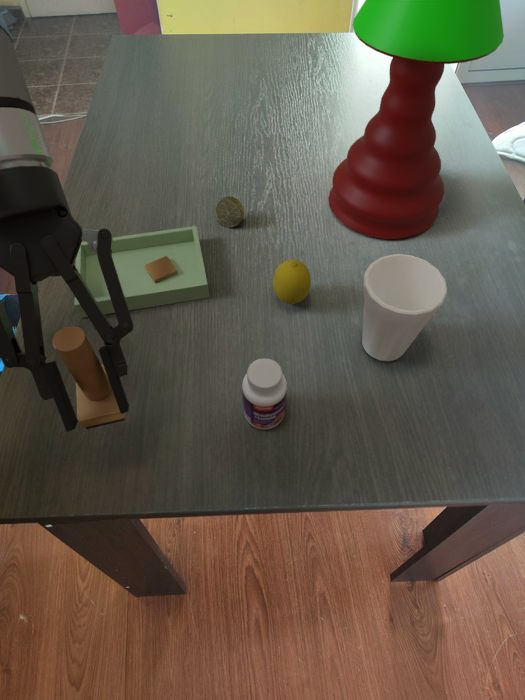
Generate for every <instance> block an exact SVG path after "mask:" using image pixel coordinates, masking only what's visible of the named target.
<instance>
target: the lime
mask: <svg viewBox="0 0 525 700" xmlns="http://www.w3.org/2000/svg"><path fill="white" fill-rule="evenodd" d="M244 208H245V207H244V206H243V203H242V202H241V201H240V200H239V199H238V198H236V197H234V196H224V197H222V198H220V200H219V201H218V202H217V204H216V206H215V215H216V219H218V222H220V224H221V225H222V226H223V227H227V228H234V227H236V226H239V225H240V224H241V223H242V220H243V219H244V216H245V209H244Z"/></svg>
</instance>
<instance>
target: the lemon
mask: <svg viewBox="0 0 525 700" xmlns="http://www.w3.org/2000/svg"><path fill="white" fill-rule="evenodd" d="M272 285H273V291H274V293H275V295H276V297H277V298H278V299H279V300H280V301H281V302H283V303H286V304H290V305H294V304H298V303H300V302H302V301H303V300H305V299H306V297H307V296H308V295H309V292H310V290H311V285H312V279H311V272H310V270H309V268H308V267H307V266H306V264H305V263H303V262H302V261H300V260H298V259H288V260H284V261H283V262H281V263H280V264H279V265H278V266H277V268H276V270H275V272H274V275H273V281H272Z"/></svg>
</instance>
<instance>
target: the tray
mask: <svg viewBox="0 0 525 700" xmlns="http://www.w3.org/2000/svg"><path fill="white" fill-rule="evenodd" d="M112 237H113V242H112V258H113V261H114V265H115V268H116V271H117V274H118V277H119V281H120V284H121V287H122V290H123V293H124V297H125V300H126V303H127V306H128V309H129V311H133V310H139V309H146V308H147V309H148V308H153V307H159V306H165V305H171V304H177V303H185V302H190V301H191V302H192V301H196V300H197V301H198V300H203V299H209V298H210V289H209V284H208V278H207V274H206V268H205V264H204V258H203V252H202V248H201V243H200V238H199V232H198V227H197V225H192V226H184V227H177V228H170V229H163V230H157V231H149V232H142V233H141V232H140V233H135V234H128V235H120V236H115V237H114V236H112ZM165 256H167V257H168V258H169V260H170V261H171V262H172V264H173V265H174V267H175V268H176V269H177V271H178V274H176V275H174V276H172V277H169V278H167V279H165V280H162V281H160V282H158V283H155V282H154V281H153V279H152V278H151V276H150V275H149V273H148V272H147V270H146V269H145V266H144V265H145V264H148V263H150V262H153V261H155V260H158V259H160V258H163V257H165ZM75 267H76V268H77V270H78V272H79V273H80V275H81V277H82V279H83V281H84V282H85V284H86V285H87V287H88V289H89V290H90V292H91V293H92V295H93V297H94V298H95V300H96V301H97V303H98V305H99V306H100V308H101V309H102V311H103V313H104V314H105V315H108V314H115V311H114V308H113V305H112V301H111V298H110V295H109V292H108V289H107V286H106V283H105V280H104V276H103V273H102V270H101V267H100V264H99V260H98V255H97V253H94V252H92V251H91V250H90V249H89V245H88V243H87V242H86V241H82V242H81V245H80V248H79V251H78V254H77V257H76V260H75ZM74 307H75V309H76V311H77V313H78V315H79V317H80V319H84V318H88V316H87V314H86V313H85V311H84V310H83V308H82V307H81V305H80V303H79V302H78V300H77V299H76V297H75V296H74Z"/></svg>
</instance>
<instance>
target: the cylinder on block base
mask: <svg viewBox="0 0 525 700" xmlns="http://www.w3.org/2000/svg"><path fill="white" fill-rule="evenodd" d="M52 345H53V347H54V349H55V351H56V352H57V354H58V355H59V357H60V359H61V361H62V362H63V363H64V365H65V366H66V368H67V370H68V371H69V373H70V374H71V376H72V378H73V380H74V381H75V390H76V391H75V392H76V417H77V420H78V424H79V425H80V426H81V428H86V430H91V429H94V428H99V427H102V426H103V427H104V426H107V425H111V424H115V423H121V422H125V421H126V412H125V413H122V414H121V413H120V410H119V408H118V405H117V402H116V399H115V396H114V393H113V390H112V388H111V385H110V382H109V379H108V376H107V373H106V371H105V368H104V365H103V363H101V362H100V360H99V359H98V356H97V355H96V352H95V350H94V348H93V346H92V345H91V342H90V341H89V339H88V336H87V335H86V333H85V331H84V330H83V329H82V328H81V327H79V326H76V325H70V326H65V327H63V328H61V329H59V330H58V331H57V332H56V333H55V334H54V336H53V338H52ZM119 378H120V381H121V384H122V376H121V377H119ZM122 385H123V384H122Z"/></svg>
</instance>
